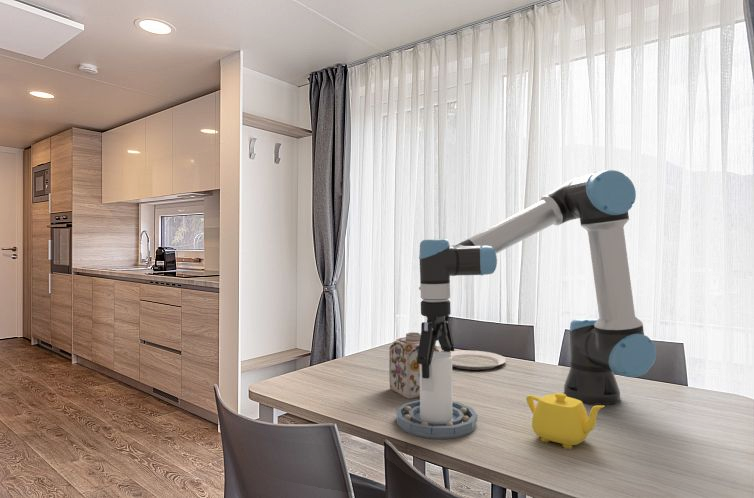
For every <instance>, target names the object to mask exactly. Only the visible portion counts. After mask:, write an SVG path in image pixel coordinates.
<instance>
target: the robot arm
mask: <svg viewBox="0 0 754 498" xmlns="http://www.w3.org/2000/svg"><path fill="white" fill-rule="evenodd" d="M636 196H637V191H636V188H635V186H634V182H633V181H632V180H631V179H630V177H628V176H627V175H625V174H624V173H623V172H621V171H619V170H613V169H606V170H599V171H596V172H592V173H589V174H586V175H582V176H579V177H574V178H573V179H570V180H569V181H567V182H565V183H564V184H562V185H560V186H559V187H557V188H555V189H554V190H552V191H550V192H549V193H547V194H544V195H543V196H541V198H540V201H538V202H537V203H534V204H533V205H531V206H529V207H527V208H525V209H523V210H521V211H519V212H517V213H516V214H514V215H511V216H509V217H508V218H506V219H504V220H502V221H500V222H498V223H496V224H494V225H492V226H490V227H488V228H486V229H485V230H483V231H481V232H479V233H477V234H475V235H473V236H470V237H469V238H467V239H466V240H463V241H461V242H460V243H458V244H456V245H450V241H449V239H445V238H441V239H440V238H438V239H435V238H434V239H423V240H421V242H420V243H419V256H418V260H419V274H420V275H419V277H420V278H419V280H420V281H419V282H420V283H419V284H420V286H419V287H418V290H419V291H420V299H421V301H420V315H421V316H423V317H426V322H421V324H420V325H421V327H420V328H421V329H420V330H421V331H420V332H421V333H420V334H421V337H420V343H419V350H418V357H417V364H421V379H422V391H429V392H433V364H431V361H432V357H433V352H434V348H435V345H436V343H437V341H438V343H439V346H440V348H441V350H440V352H444V353H449V354H451V351H455V344H454V339H453V334H452V328H451V325H450V315H451V314H452V312H451V301H450V300H449V299H450V298H451V277H456V276H484V275H492V274H494V273H495V271H496V269H497V264H498V259H497V254H499V253H501V252H502V251H504V250H506V249H508V248H510V247H512V246H514V245H516V244H519V242H521V241H524V240H525V239H527V238H528V239H529V238H530V237H531V236H533V235H535V234H537V233H539V232H541V231H542V230H544V229H547V228H549V227H550V226H553V225H554V226H560V225H563V224H564V223H566V222H569V221H573V220H576V219H579V221H580V222H579V223H580V226H581V227H582V228H583V229H585V230H586V231H587V235H588V242H589V248H590V249H589V251H590V257H591V264H592V265H591V266H592V273H593V280H594V281H593V282H594V287H595V294H596V295H595V296H596V303H597V304H596V305H597V311H598V318H578V319H577V318H575V319H573V320H571V322H570V324H569V363H570V364H569V371H568V374H567V376H566V379H565V381H564V385H563V393H564V394H566V396H567V397H571V398H574V399H578V400H580V401H582V403H586V404H591V405H594V404H595V405H613V404H616V403H619V402H620V401H621V391H620V388H619V385H618V381H617V379H616V377H615V376H616V375H617V376H623V377H627V378H637V377H641V376H644V375H645V374H647V372H649V370H650V368H652V367H653V365H654V363H655V362H656V357H657V348H656V344H655V343H654V341H653V340H652V339H650V337H649V336H648V335H645V334H644V333H645V330H644V323H643V321H642V320H640V319H639V318H638V317H636V313H635V305H634V297H633V289H632V282H631V281H632V280H631V275H630V268H629V259H628V252H627V244H626V236H625V228H624V226H625V225H626V224H627V223H628V221H629V220H630V217H629V216H630V215H629V211H630V210H631V209H632V207H633V204H635V201H636V198H637V197H636Z"/></svg>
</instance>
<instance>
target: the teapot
mask: <svg viewBox="0 0 754 498" xmlns="http://www.w3.org/2000/svg"><path fill="white" fill-rule="evenodd" d="M534 401H537V403H536V405H535V403H534ZM526 403H527V405H528V407H529V409H530V411H531V413H532V414H533V415H532V420H531V421H532V422H531V427H532V430H533V432H534V434H535V435H536V436H538V437H539V440H540V441H541V442H543V443H549V442H553V443H559V444H561V447H562V446H563V447H564V449H566V448H568V449H567V450H572V449H573V448H572V447H573V446H577V445H580V444H581V443H582V442H583V441H585V440H586V439H587V437H588V436H589V434H590V433H591V431H593V429H594V428H595V427H596V423H597V415H598V412H599V411H600V409H602V408H604V407H606V406H605V405H604V404H595V405H594V406H592V408H591V409H590V413H589V414H588V412H587V409H586V407H585V405H584V402H582V401H580V400H578V399H574V398H571V397H567V396H566V394H564V392H555V393H553V394H551V393H550V394H549V393H548V394H546V395H544V396H542V397H540V396H536V395H534V394H533V395H532V394H527V396H526ZM588 415H589V416H588ZM563 447H562V448H563ZM571 448H572V449H571Z"/></svg>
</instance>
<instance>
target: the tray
mask: <svg viewBox="0 0 754 498" xmlns="http://www.w3.org/2000/svg"><path fill="white" fill-rule="evenodd" d="M406 406H410V407H411V410H410V411H409V413H406V412H405V407H406ZM462 407H464V408H466V409H467V413H466V414H465V415H464V414H463V413H462V411H461V410H460V409H461V408H462ZM406 414H409V415H410V416H411V420H408V419H406V418H404V416H405V415H406ZM395 416H396V425H397V427H398V428H399V429H400V430H401V431H403V432H405V433H407V434H408V435H411V436H415V437H419V438H425V439H433V440H451V439H457V438H461V437H465V436H468V435H469V434H471V433H473V432H474V431H475V430H476V428H477V423H478V414H477V413H476V411H475V410H474V408H473V407H471V406H469V405H466V404H464V403H461V402H460V401H459V402H458V401H454V400H452V416H453V419H452V420H451V421H448V422H452V423H453V426H446V423H447V422H430V421H426V422H427V423H428V425H423V424H421V423H422V422H423V421H425V420H421V419H420V399H417V400H413V401H409V402H405V403H403V404H401V405H400V406H399V407H398V408H396V410H395ZM463 416H468V417H469V420H468V421H467V422H463V421H462V418H463Z"/></svg>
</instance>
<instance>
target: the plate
mask: <svg viewBox="0 0 754 498" xmlns="http://www.w3.org/2000/svg"><path fill="white" fill-rule="evenodd" d="M450 352H451V355H452V359H454V357H455V358H462V357H463V358H465V357H464V356H470V357H471V358H472V357H473V358H483V359H487V360H491V361H494V362H496V363H497V364H495V365H487V366H486V365H485V366H469V365H459V364H453V363H452V368H457V369H462V370H478V371H479V370H489V369H494V368H496V367H497V366H501V365H504V364H505V363H506V362H507V359H506V357H505V356H503V355H500V354H498V353H495V352H491V351H490V352H489V351H481V350H468V349H467V350H464V349H463V350H454V351H450Z"/></svg>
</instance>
